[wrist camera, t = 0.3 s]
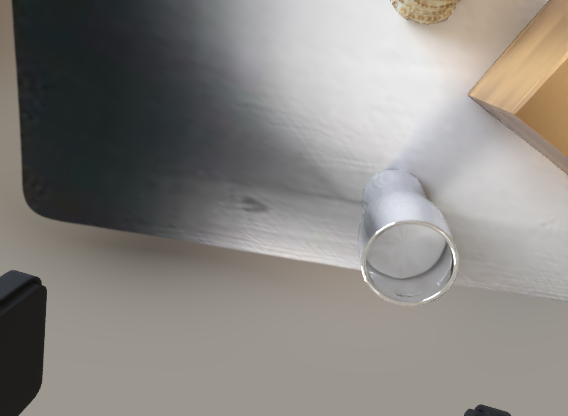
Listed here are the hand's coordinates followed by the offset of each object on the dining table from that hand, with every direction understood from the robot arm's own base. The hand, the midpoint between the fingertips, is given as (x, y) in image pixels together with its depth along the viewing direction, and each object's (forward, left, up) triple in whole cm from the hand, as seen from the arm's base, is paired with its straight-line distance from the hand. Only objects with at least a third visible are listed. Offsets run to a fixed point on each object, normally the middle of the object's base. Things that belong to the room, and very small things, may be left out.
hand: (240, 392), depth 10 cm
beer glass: (+9, +3, -37) cm, 38 cm away
